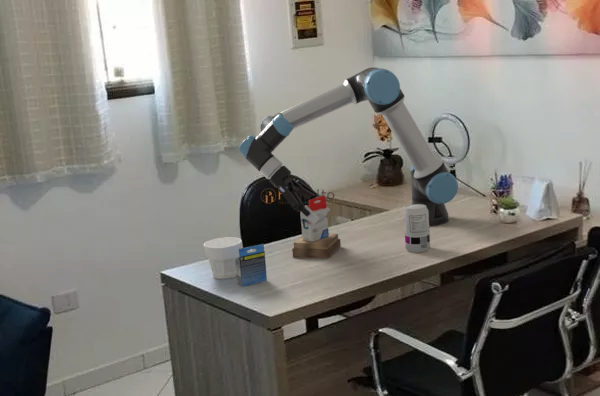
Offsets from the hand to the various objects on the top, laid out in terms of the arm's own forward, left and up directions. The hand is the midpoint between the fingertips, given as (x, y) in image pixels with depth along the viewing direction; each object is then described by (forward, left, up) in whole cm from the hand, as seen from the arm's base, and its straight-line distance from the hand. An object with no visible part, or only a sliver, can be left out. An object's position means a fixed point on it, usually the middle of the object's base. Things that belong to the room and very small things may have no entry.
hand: (322, 217), depth 275 cm
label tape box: (+13, +33, -13) cm, 38 cm away
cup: (+25, +27, -13) cm, 39 cm away
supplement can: (-31, -6, -13) cm, 34 cm away
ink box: (+3, 0, -8) cm, 8 cm away
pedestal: (+3, 0, -13) cm, 13 cm away
